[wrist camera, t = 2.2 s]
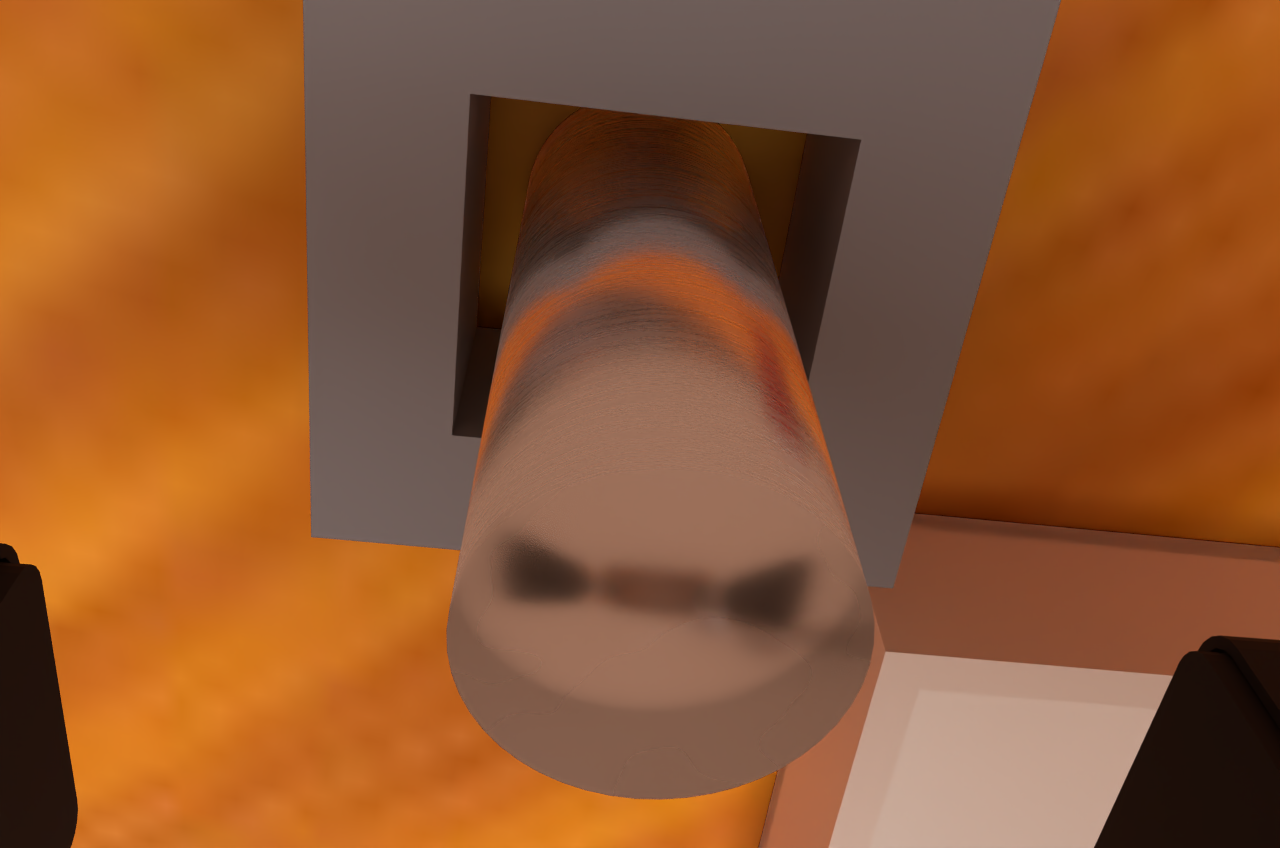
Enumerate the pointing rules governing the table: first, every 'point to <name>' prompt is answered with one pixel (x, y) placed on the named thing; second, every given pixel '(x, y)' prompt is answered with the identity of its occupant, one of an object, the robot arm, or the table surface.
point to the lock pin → (653, 485)
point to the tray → (1014, 684)
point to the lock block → (671, 87)
